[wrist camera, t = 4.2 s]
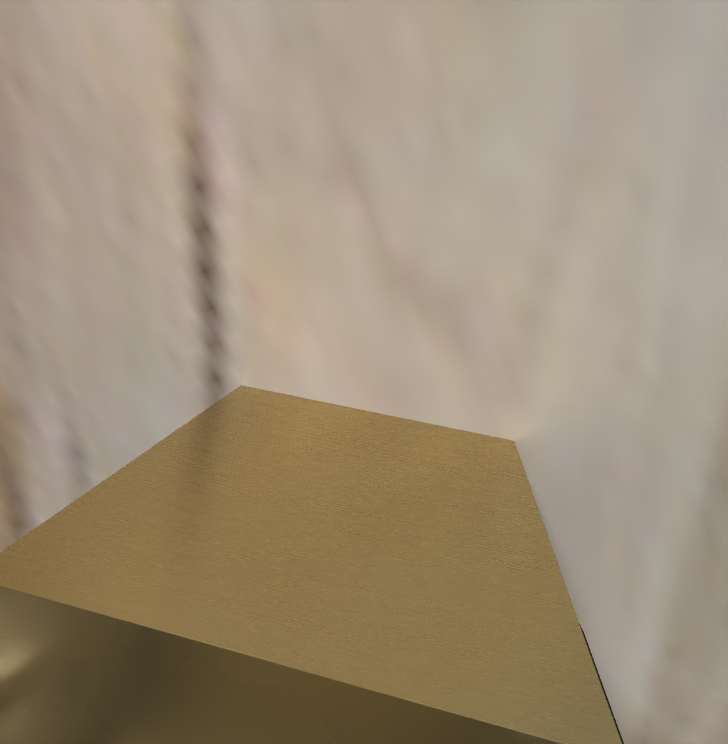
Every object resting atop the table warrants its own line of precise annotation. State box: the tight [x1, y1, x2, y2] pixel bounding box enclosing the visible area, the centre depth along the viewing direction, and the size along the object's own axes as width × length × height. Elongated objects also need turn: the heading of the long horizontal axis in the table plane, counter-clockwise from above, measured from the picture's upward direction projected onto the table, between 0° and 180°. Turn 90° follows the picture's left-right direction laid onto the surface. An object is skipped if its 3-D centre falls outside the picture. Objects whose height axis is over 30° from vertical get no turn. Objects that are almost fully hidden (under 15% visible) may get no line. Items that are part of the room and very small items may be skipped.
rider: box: [0, 386, 622, 744], centre depth 8 cm, size 6×6×6 cm
